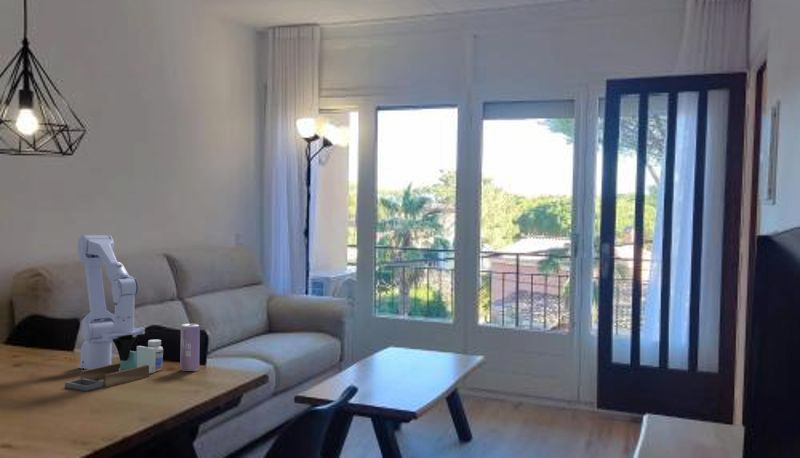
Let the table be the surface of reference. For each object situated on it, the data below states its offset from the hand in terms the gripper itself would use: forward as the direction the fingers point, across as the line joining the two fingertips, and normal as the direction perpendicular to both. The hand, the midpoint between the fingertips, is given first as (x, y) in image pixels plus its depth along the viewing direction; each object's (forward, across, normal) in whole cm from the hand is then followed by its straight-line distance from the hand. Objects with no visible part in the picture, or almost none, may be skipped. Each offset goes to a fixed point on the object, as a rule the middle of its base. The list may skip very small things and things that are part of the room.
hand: (123, 360), depth 206 cm
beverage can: (+6, +18, -10) cm, 21 cm away
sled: (+5, +5, 0) cm, 7 cm away
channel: (+5, -3, 0) cm, 6 cm away
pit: (+5, -14, 0) cm, 15 cm away
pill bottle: (+6, +12, 0) cm, 13 cm away
